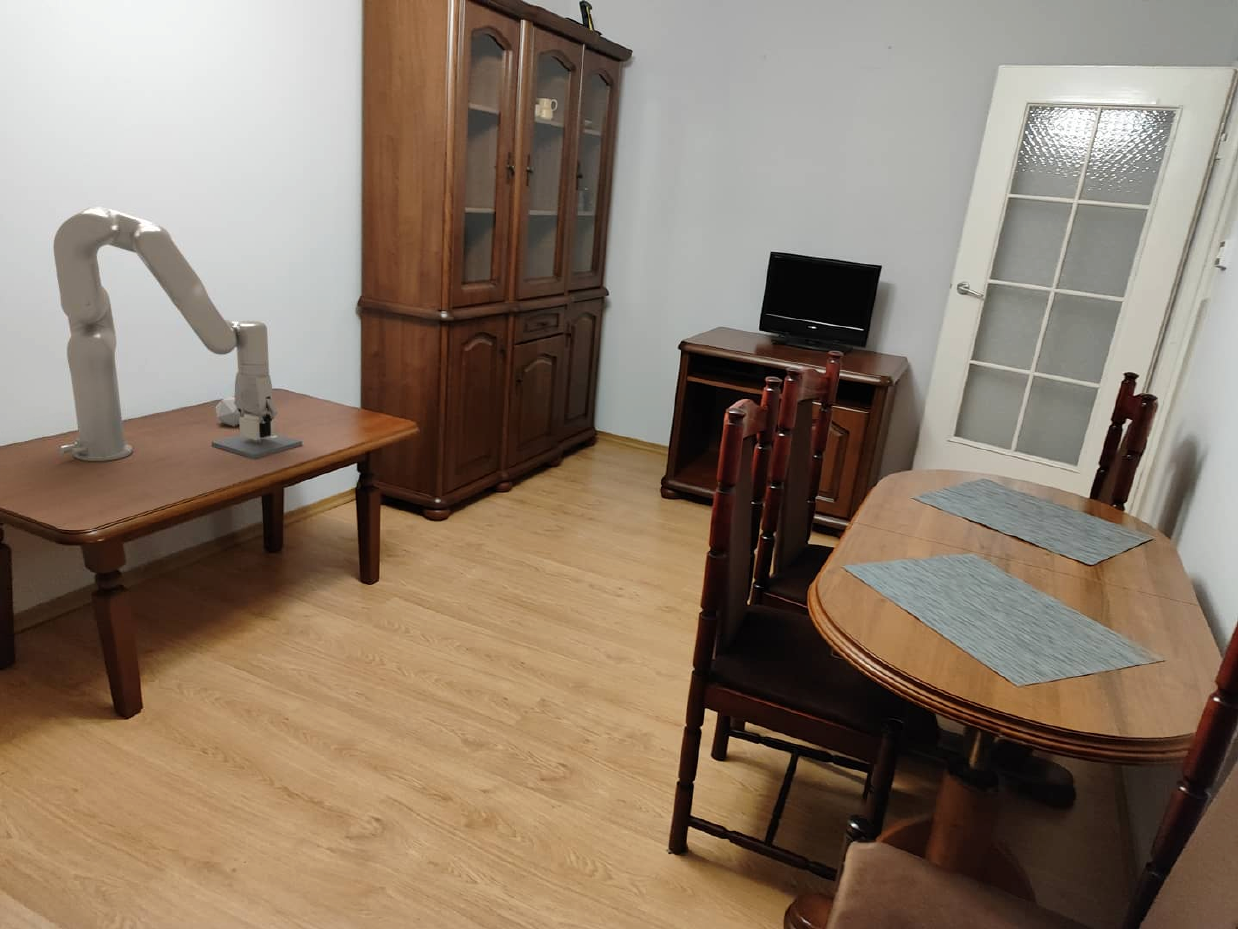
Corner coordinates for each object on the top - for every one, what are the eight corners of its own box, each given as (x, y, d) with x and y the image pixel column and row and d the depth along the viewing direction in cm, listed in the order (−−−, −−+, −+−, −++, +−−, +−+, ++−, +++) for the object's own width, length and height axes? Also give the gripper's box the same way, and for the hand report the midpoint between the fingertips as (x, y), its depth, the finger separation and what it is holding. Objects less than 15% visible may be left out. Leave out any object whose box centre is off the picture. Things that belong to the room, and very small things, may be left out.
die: (226, 420, 244) (206, 398, 236) (253, 407, 245) (234, 385, 237) (229, 437, 238) (209, 415, 231) (256, 423, 239) (237, 401, 232)
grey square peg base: (253, 459, 213) (252, 439, 211) (211, 446, 219) (210, 427, 217) (302, 445, 226) (301, 427, 225) (261, 433, 233) (260, 415, 231)
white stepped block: (255, 440, 218) (254, 416, 216) (240, 435, 220) (238, 412, 218) (274, 435, 223) (273, 412, 221) (258, 430, 226) (257, 408, 224)
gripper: (218, 365, 216) (223, 430, 222) (264, 376, 209) (268, 443, 215) (242, 361, 223) (246, 424, 228) (288, 372, 216) (290, 437, 221)
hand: (256, 433), depth 222 cm, fingers closed on white stepped block, 5 cm apart
